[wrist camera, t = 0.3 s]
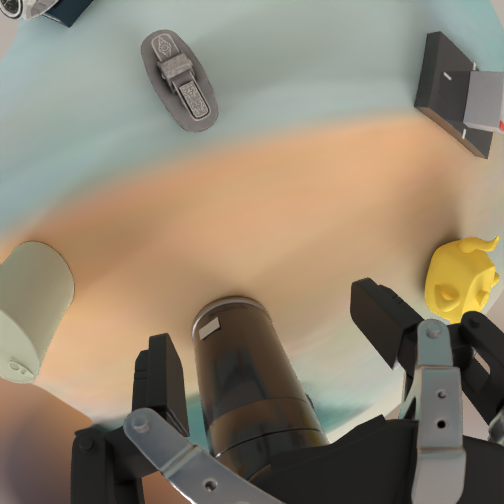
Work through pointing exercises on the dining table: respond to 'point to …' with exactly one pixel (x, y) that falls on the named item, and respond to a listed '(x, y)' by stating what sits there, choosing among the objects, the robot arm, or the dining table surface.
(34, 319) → the can
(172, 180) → the dining table surface
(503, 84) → the knob
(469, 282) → the teapot
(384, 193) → the dining table surface
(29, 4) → the watch
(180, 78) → the lighter
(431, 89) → the hob panel
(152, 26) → the dining table surface
